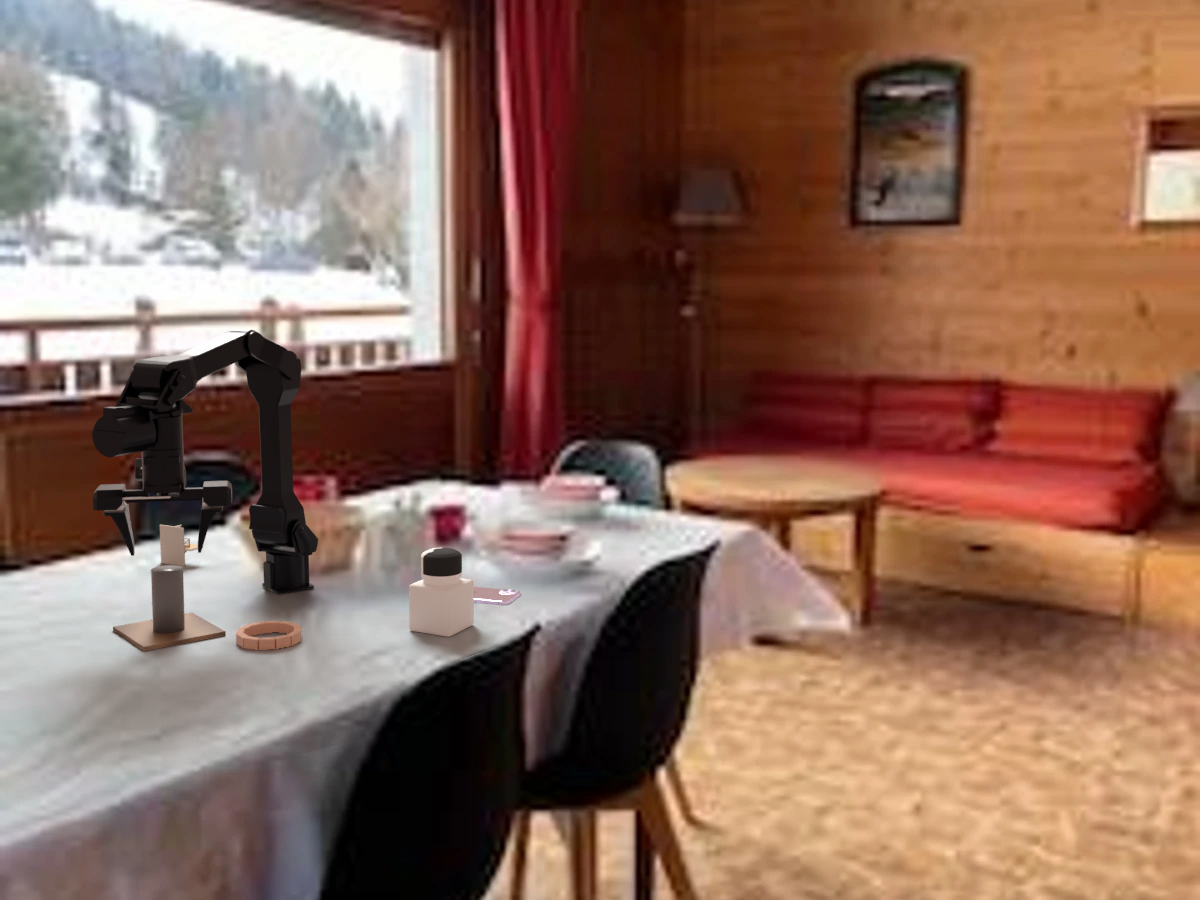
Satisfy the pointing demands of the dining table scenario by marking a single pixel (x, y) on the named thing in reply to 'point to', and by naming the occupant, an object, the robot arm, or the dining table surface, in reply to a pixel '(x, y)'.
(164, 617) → the cylinder
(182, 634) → the coaster
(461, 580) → the medicine bottle
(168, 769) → the dining table surface
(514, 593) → the mobile phone
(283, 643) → the orange segmented ring
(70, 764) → the dining table surface
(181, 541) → the architectural model
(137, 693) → the dining table surface
